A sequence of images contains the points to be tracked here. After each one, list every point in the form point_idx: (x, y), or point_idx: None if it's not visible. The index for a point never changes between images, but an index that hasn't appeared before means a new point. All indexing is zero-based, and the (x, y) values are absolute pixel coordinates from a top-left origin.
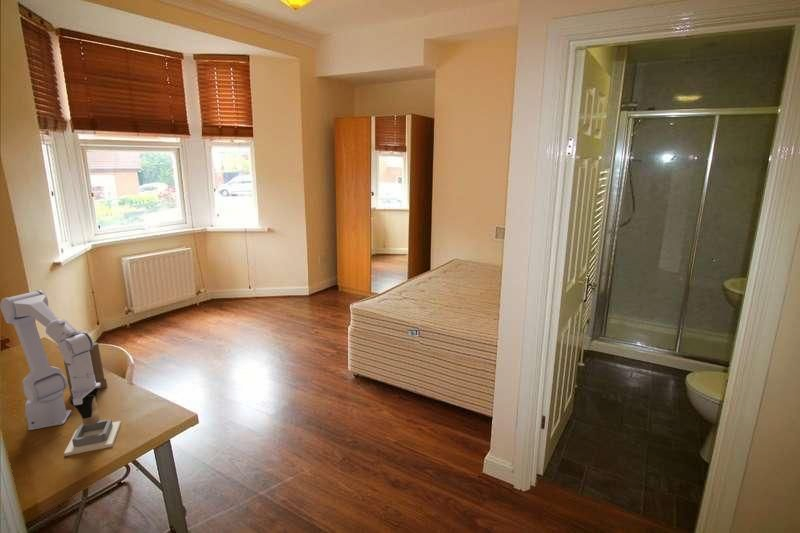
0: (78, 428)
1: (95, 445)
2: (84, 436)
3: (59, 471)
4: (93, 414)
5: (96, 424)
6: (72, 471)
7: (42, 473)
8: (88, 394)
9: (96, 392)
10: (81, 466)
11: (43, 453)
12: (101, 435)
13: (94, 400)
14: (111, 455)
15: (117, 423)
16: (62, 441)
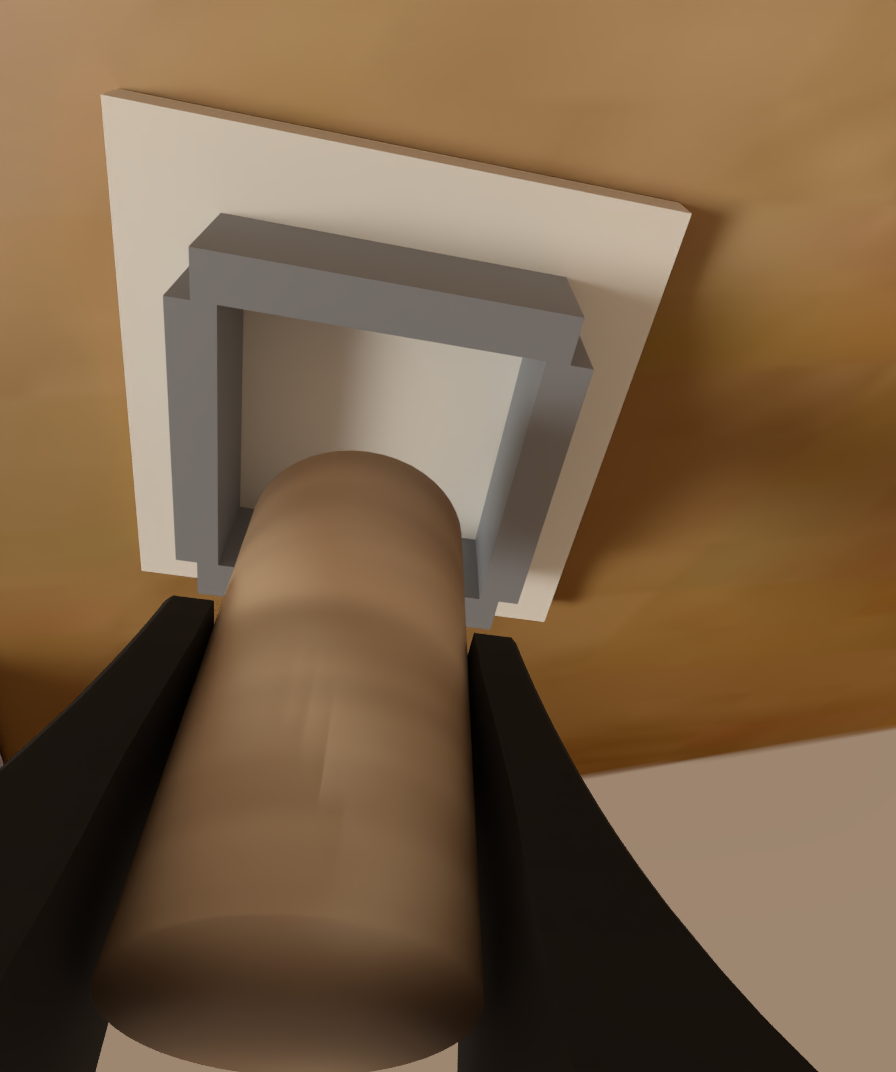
0: None
1: (594, 395)
2: None
3: (749, 609)
4: (451, 616)
5: (221, 429)
6: (837, 534)
7: (680, 690)
8: (67, 1021)
9: (24, 952)
10: (822, 479)
11: None
12: (591, 367)
13: (378, 850)
14: (877, 213)
15: (169, 144)
16: None
